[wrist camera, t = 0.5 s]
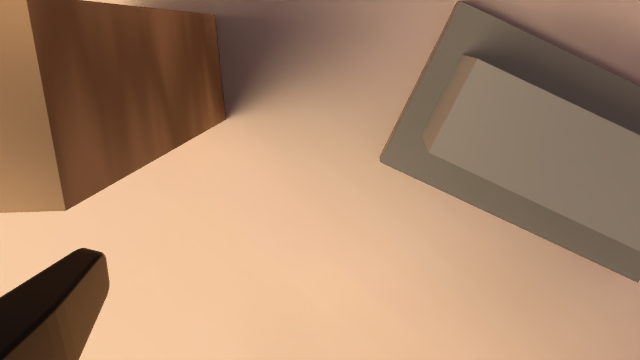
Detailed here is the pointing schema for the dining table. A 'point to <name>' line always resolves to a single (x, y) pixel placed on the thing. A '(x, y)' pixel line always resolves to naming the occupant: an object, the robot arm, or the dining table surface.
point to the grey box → (527, 137)
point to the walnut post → (97, 95)
